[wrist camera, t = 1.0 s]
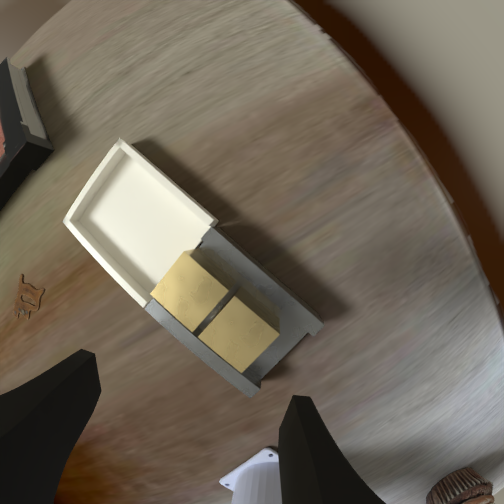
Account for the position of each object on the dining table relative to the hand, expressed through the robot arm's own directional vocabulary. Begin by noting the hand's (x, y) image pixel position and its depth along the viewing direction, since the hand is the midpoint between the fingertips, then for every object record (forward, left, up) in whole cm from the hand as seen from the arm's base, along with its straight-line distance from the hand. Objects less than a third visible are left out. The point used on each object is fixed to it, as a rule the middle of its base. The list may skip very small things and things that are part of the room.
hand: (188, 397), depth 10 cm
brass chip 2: (-1, +1, -15) cm, 15 cm away
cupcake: (-40, +3, -16) cm, 43 cm away
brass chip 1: (+3, +1, -15) cm, 15 cm away
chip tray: (+11, +1, -16) cm, 19 cm away
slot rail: (0, +1, -16) cm, 16 cm away
